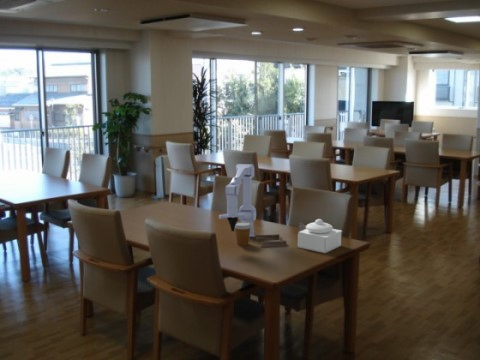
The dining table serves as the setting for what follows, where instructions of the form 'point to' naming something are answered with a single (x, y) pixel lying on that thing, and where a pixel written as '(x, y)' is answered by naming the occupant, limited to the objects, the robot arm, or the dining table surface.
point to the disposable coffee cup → (242, 233)
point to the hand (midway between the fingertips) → (232, 230)
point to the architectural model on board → (302, 227)
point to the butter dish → (319, 237)
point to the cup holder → (273, 236)
